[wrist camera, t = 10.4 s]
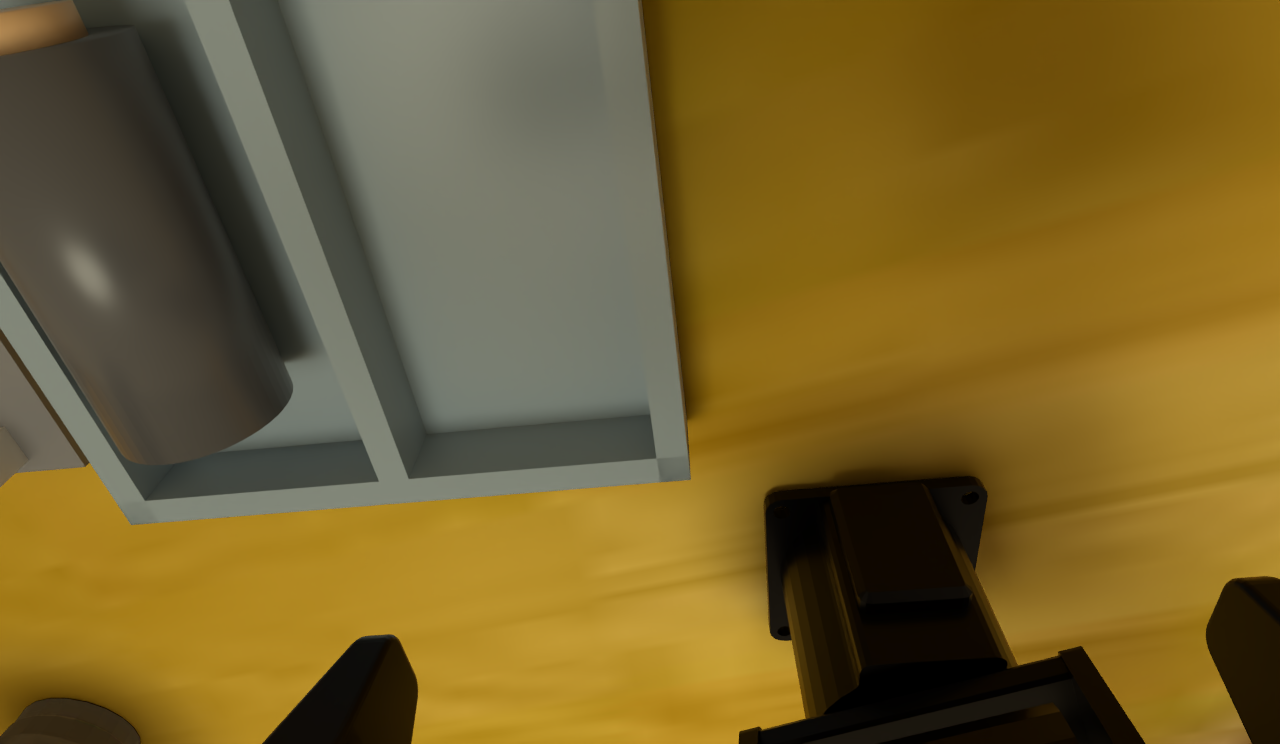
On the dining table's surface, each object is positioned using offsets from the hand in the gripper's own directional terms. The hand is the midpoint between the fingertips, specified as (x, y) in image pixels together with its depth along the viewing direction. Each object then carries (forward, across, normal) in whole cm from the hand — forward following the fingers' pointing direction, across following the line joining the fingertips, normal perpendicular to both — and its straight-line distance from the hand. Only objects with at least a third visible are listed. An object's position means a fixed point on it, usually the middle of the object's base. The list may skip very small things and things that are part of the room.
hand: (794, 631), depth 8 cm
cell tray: (+12, +9, -2) cm, 15 cm away
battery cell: (+11, +13, -2) cm, 17 cm away
